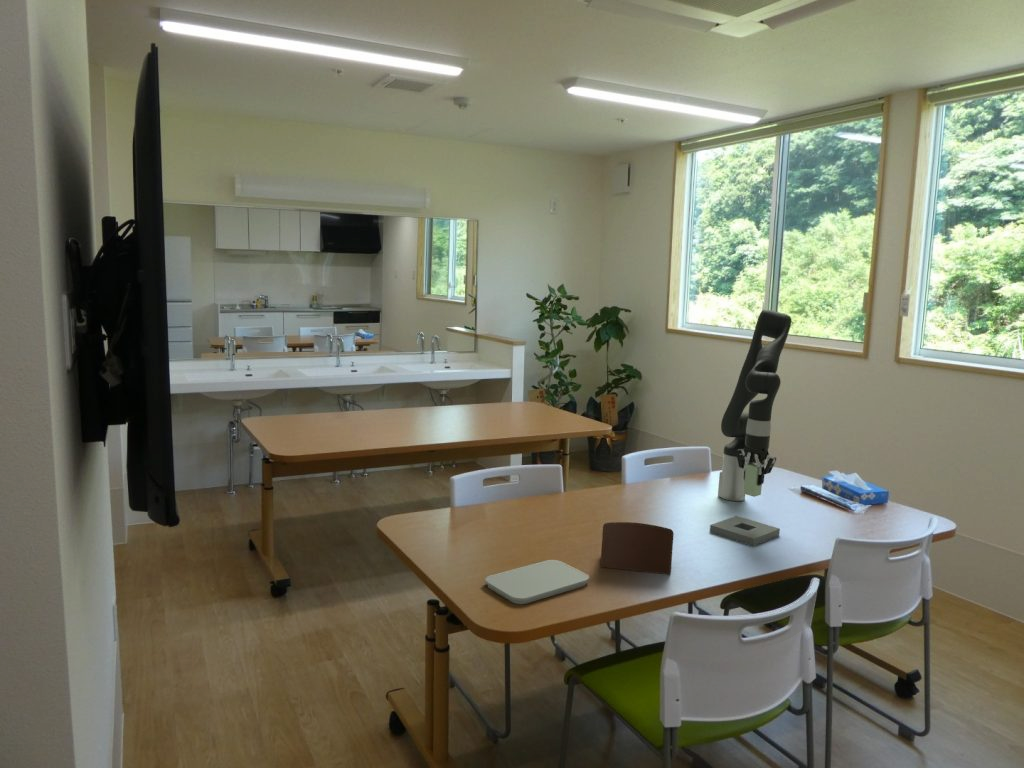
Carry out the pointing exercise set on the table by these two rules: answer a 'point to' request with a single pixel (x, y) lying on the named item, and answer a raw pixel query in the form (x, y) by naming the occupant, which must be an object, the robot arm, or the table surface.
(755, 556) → the table surface
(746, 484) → the sage block
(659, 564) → the letter holder
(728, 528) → the pocket holder
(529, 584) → the tablet
